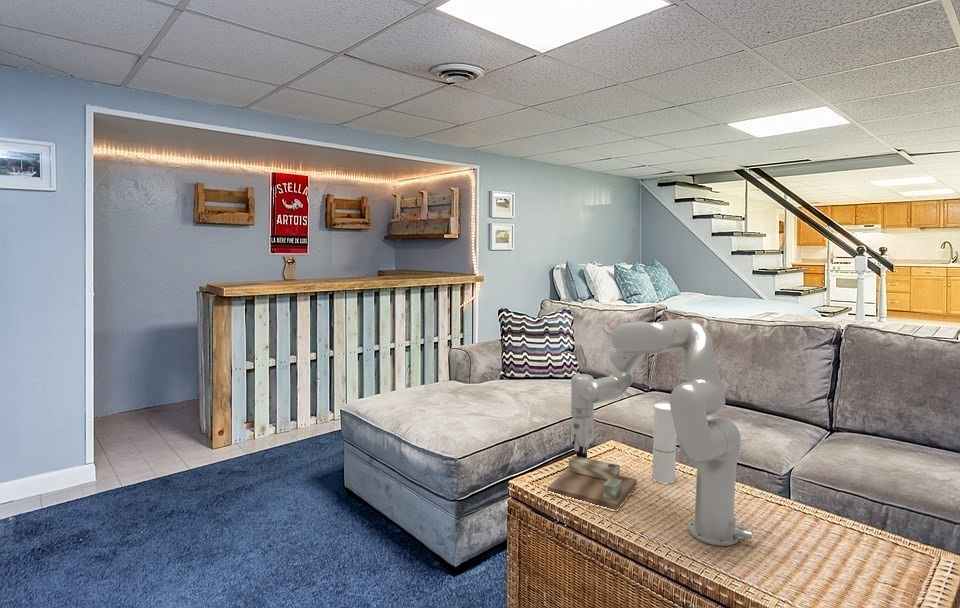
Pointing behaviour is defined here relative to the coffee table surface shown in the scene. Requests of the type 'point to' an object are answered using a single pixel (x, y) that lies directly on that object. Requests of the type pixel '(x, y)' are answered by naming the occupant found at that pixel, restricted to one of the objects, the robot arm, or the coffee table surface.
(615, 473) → the folding leg
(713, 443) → the robot arm
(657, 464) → the cylindrical container
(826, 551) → the coffee table surface
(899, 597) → the coffee table surface
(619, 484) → the brown board with blocks
